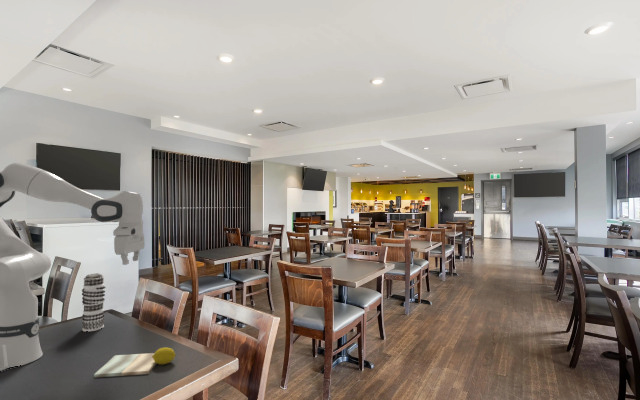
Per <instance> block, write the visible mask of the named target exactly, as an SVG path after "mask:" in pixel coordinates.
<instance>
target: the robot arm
mask: <svg viewBox="0 0 640 400" xmlns="http://www.w3.org/2000/svg"><path fill="white" fill-rule="evenodd" d="M16 192H17V193H22V194H24V195H26V196H30V197H31V198H35V199H38V200H42V201H48V202H54V203H68V204H75V205H77V206H80V207H82V208H85V209H88V210H90V213H91V216H92V217H93V219H94V220H96V221H98V222H101V223H118V226H117V227H116V228H114V229H113V231H112V235H113V236H114V239H113V245H114V246H113V248H114V254H115V255H117V256H120V258H121V260H122V261H121V263H122V265H123V266H126V265H128V264H129V263H130V259H129V258H128V256H129V254H131V253H133V256H132V261H133V262H136V261H139V256H140V254H141V250H143V249H144V248H145V247H146V246H145V235H144V222H143V214H144V204H143V197H142V195H141V194H140V193H137V192H133V191H128V190H123V191H121V192H119V193H117V194H116V195H113V196H109V197H105V198H104V197H101V196H98V195H95V194H92V193H90V192H88V191H85V190H83V189H81V188H79V187H77V186H75V185H74V184H72V183H69V181H66V180H64V178H61V177H60V176H58V175H55V174H54V173H51V172H50V171H47V170H45V169H42V168H39V167H36V166H33V165H29V164H26V163H21V162H12V163H10V164H8V165H7V166H6V167H5V168H4V169H3V170H2V171H0V208H2V207H3V206H4V205H5V204H7V203H8V202H10V201H11V200H12V199H13V198H14V197H15V196H16ZM51 261H52V260H51V259H50V257H49V255H47V254H45V253H43V252H41V251H40V252H39V251H38V250H36V249H34V248H33V247H32V246H30V245H29V244H27V243H26V242H25V241H23V240H22V239H21V238H20V237H19V236H18V235H16V233H15V232H14V231H13V230H12V229H11V228H10V227H9V225H8V224H7V223H6V222H5V220H4V219H3V218H2V217H1V216H0V370H3V369H6V368H9V367H14V366H18V367H21V366H24V365H28V364H29V363H32V362H35V361H36V360H39V359H40V358H42V357H43V355H44V353H43V351H42V347H41V345H40V338H39V330H40V318H39V317H38V316H39V315H38V313H39V311H38V310H39V309H38V308H39V307H38V305H39V300H38V297H37V296H36V295H35V294H34V293H33V292H32V290H31V287H30V282H31V281H34V280H37V279H39V278H41V277H43V276H44V275H45V274H47V273H48V271H49V270H50V269H51V266H52V262H51ZM20 365H21V366H20ZM14 368H15V367H14Z"/></svg>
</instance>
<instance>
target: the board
mask: <svg viewBox="0 0 640 400" xmlns="http://www.w3.org/2000/svg"><path fill="white" fill-rule="evenodd" d="M154 354H155V352H154V353H153V352H151V353H149V352H148V353H135V354H134V353H132V354H116V355H115V354H114V356H112V358H110V359H109V360H108V361H107V362H106V363H105V364H104V365H103V366H102V367H100V368H99V369H98V370H97V371H96V372H95V373H94V374H93V375H94V376H93V377H94V378H104V377H105V378H106V377H120V376H121V377H123V376H137V375H149V374H150V373H151V371H152V370H153V368H155V367H156V365H157V363H156V362H155V361H154V359H153V358H152V356H153V355H154Z"/></svg>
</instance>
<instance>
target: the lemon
mask: <svg viewBox="0 0 640 400" xmlns="http://www.w3.org/2000/svg"><path fill="white" fill-rule="evenodd" d="M154 353H155V354H154V355H153V356H152V358H153V359H154V361H155V362H156V365H167V364H169V363H171V362H172V361H173V360H174V359H175V357H176V352H175V351H174V349H173V348H171V347H160V348H158V349H157V350H156V351H155V352H154Z"/></svg>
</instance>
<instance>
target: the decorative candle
mask: <svg viewBox="0 0 640 400" xmlns="http://www.w3.org/2000/svg"><path fill="white" fill-rule="evenodd" d="M104 278H105V276H104V275H103V274H102V273H89V274H87V275H86V276H85V277H84V278H83V286H82V287H83V288H82V289H81V292H82V293H81V296H82V297H81V298H82V301H81V302H82V306H83V310H82V316H81V317H82V322H81V325H82V326H81V328H82V330H81V331H83V332H86V331H88V332H94V331H99V330H101V328H102V329H103V328H104V327H105V318H104V317H105V309H104V302H105V298H104V297H105V296H106V294H105V292H106V291H105V289H106V288H107V287H106V286H105V282H104Z"/></svg>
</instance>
